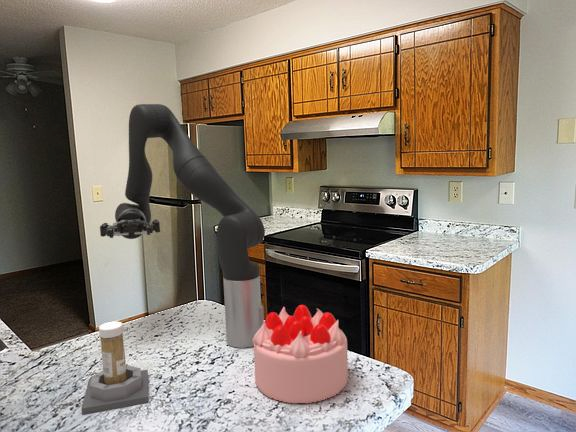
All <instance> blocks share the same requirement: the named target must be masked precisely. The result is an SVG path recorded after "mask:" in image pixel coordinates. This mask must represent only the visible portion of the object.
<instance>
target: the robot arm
mask: <svg viewBox="0 0 576 432" xmlns="http://www.w3.org/2000/svg"><path fill="white" fill-rule="evenodd" d="M151 138H152V139H157V138H161V139H162V140H164V141H165V143H167V145H168V146H169V148H170V149H171V151H172V165H173V166H172V167H173V171H174V174H175V177H177V179H178V180H179V181H180V183H181V184H182V185H183V187H184V188H185V190H187V192H189V193H190V194H191V195H192V196H194V197H195V198H196V199H198V200H199V201H201V202H203V203H205V204H206V205H208V206H210V207H212V208H213V209H215V210H216V211H218V212H219V213H220V214H221V215H222V217H221V219H220V220H219V222H218V224H217V228H216V240H217V241H216V242H217V253H218V261H219V265H220V268H221V271H222V275H223V276H222V279H223V295H224V316H225V337H226V343H227V345H228V346H229V347H233V348H239V349H243V348H244V349H245V348H251V347H254V343H253V341H252V340H253V338H254V336H255V334H256V333H257V331H258V330H259V329H260V328H261V326H262V325H263V323H264V322H265V319H264V306H263V304H262V301H261V299H262V298H261V297H262V296H261V294H262V293H261V271H260V270H261V269H260V266H259V264H258V263H257V262H255V261H251V260H250V259H249V250H248V249H251V248H254V247H257V246H259V245H260V244H262V243H263V241H264V239H265V236H266V229H265V226H264V224H263V221H262V219H261V218H260V217H259V216H258V214H257V213H256V212H255V211H254V210H253V209H252V208H251V207H250V206H249V205H248V204H247V203H246V202H245V201H244V200H243V199H242V198H240V196H238V194H237V193H236V192H235V191H234V190H233V189H232V187H230V185H229V184H228V183H227V182H226V181H225V180H224V178H223V177H222V176H221V175H220V173H218V171H217V170H216V168H215V166H213V164H212V163H211V162H210V161H209V160H208V158H207V157H206V156H205V155H204V154H203V153H202V152H201V150H200V149H199V148H198V147H197V146H196V144H195V143H194V142H193V140H192V139H191V138H190V136H189V135H188V134H187V132H186V131H185V129H184V127H183V126H182V124H181V123H180V122H179V120H178V118H177V117H176V115H175V114H174V112H173V111H172V110H171V109H170V107H168V106H166V105H165V104H161V103H144V104H143V103H142V104H141V103H139V104H136V105H134V106H133V107H132V108H131V110H130V114H129V117H128V173H127V179H126V180H127V181H126V185H125V191H124V197H125V198H126V199H127V200H128V201H130V202H132V203H129V202H122V203H120V204H118V206H117V207H116V209H115V211H114V212H115V213H114V218H115V219H114V220H115V222H113V223H112V225H110V224H109V223H107V222H103V223H102V224H101V225H99V232H100V237H109V238H110V239H114V237H122V238H125V239H128V240H134V239H137V238H139V237H141V236H143V235H147V236H150V235H151V234H153V233H154V232H155V233H161V227H160V226H161V223H160V221H159V219H154V220H152V212H151V206H150V194H151V191H152V190H151V189H152V184H153V171H152V167H151V165H150V163H149V160H148V158H147V155H146V144H147V141H148V139H151Z"/></svg>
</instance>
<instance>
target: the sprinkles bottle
mask: <svg viewBox="0 0 576 432" xmlns="http://www.w3.org/2000/svg"><path fill="white" fill-rule="evenodd" d="M98 334H99V339H100V348H101V349H100V351H101V352H100V353H101V360H102V361H101V363H102V369H103V370H102V371H103V373H104V380H105V385H113V384H119V383H123V382H125V381H127V376H126V365H127V364H126V363H127V362H126V353H125V352H126V351H125V345H124V324H123V323H122V322H121V321H118V320H117V321H108V322H104V323H102V324H101V325H99V327H98Z"/></svg>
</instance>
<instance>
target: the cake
mask: <svg viewBox="0 0 576 432" xmlns="http://www.w3.org/2000/svg"><path fill="white" fill-rule="evenodd" d="M316 310H317V311H316V313H315V314H314V315H313V317H312V314H311V312H310V311H309V308H308V307H307V306H306V305H305V304H300V305H298V306H297V307H296V308H295V310H294V313H293V315H289V314H288V312H287V311H286V307H285V306H283V307H282V309H281V310H280V312H279V314H278V313H277V312H275V311H271V312H269V313H268V314H267V315H266V318H265V319H264V323H263V325H262V326H261V328H260V329H259V330H258V331H257V333H256V334H255V336H254V338H253V340H252V341H253V343H254V346H253V357H254V359H253V361H254V363H253V364H254V382H255V385H256V387H257V388H258V390H259V391H260V392H261V393H262V394H264V395H265V396H266V397H268V398H270V399H272V398H273V399H272V400H275V401H278V400H279V402H281V401H283V403H286V402H287V404H288V403H289V404H297V403H306V404H312V402H314V403H318V402H317V401H319V402H322V401H321V400H324V401H326V400H328V399H327V398H329V399H331V398H333V397H335V396H337V395H338V394H340V393H341V392H342V391H341V390H344V388H345V387H346V386H347V383H348V377H349V376H348V374H349V373H348V372H349V371H348V366H349V365H348V339H347V336H346V335H345V333H344V332H343V330H342V329H340V328H339V319H337V320H336V318H335V316H334V315H333V314H332V313H331V312H323V311H322V310H320V309H319V308H316ZM340 391H341V392H340ZM339 392H340V393H339ZM336 394H337V395H336ZM332 396H333V397H332ZM330 397H331V398H330ZM325 399H326V400H325Z"/></svg>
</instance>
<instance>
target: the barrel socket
mask: <svg viewBox="0 0 576 432" xmlns="http://www.w3.org/2000/svg"><path fill="white" fill-rule="evenodd" d="M141 368H142V367H141ZM141 368H140V367H138V366H134V365H129V364H126V376H127V381H125V382H123V383H119V384H113V385H105V380H104V373H103V370H101V371H99V372H97V373H95V374H94V375H92V376H91V378H88V382H87V384H86V389H85V393H84V398H83V401H82V405H81V410H80V411H81V415H87V414H92V413H93V414H94V413H98V412H104V411H109V410H115V409H120V408H126V407H132V406H136V405H141V404H142V405H143V404H146V403H149V371H148V370H149V369H141Z"/></svg>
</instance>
